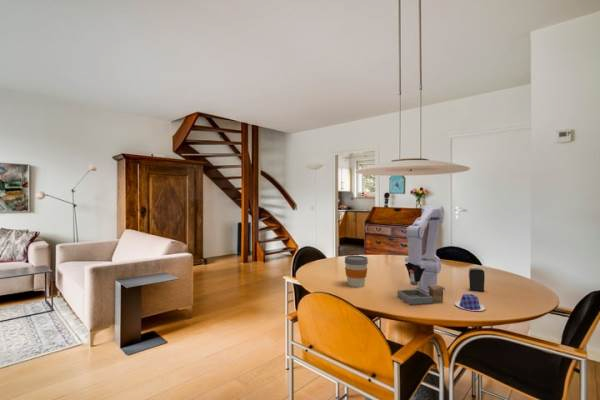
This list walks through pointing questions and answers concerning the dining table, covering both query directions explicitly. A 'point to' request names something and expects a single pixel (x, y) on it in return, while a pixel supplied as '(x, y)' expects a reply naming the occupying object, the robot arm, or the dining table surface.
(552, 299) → the dining table surface
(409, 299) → the tray
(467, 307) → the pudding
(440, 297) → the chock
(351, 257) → the reusable coffee cup
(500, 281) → the dining table surface
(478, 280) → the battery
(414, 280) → the small red-capped bottle
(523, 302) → the dining table surface
